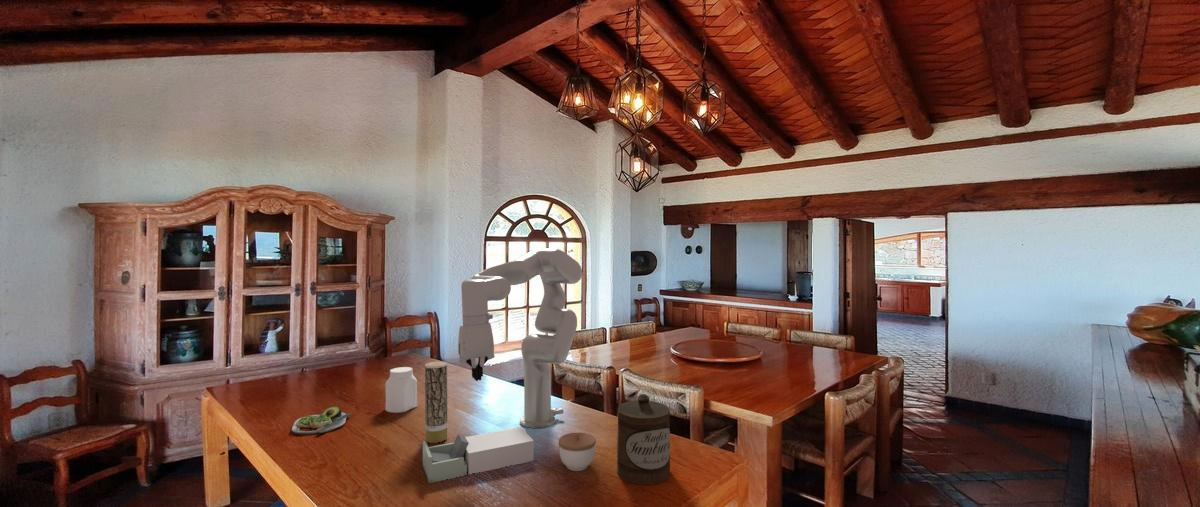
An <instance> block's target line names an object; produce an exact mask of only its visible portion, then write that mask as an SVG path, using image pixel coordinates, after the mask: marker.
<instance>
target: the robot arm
mask: <svg viewBox="0 0 1200 507" xmlns="http://www.w3.org/2000/svg"><path fill="white" fill-rule="evenodd" d="M538 275H539V277H540V280H541V282H542V287H543V297H542V300H541V304H540V306H539V308H538V311H537V315H536V317H535V322H534V328H535V329H536V330H537V331H538V332H540V333H543V334H539V333H532V334H528V335H527V336H526V337H524V338H523V339H522V342H521V357H522V359H523V360H522V361H523V367H524V368H523V369H524V370H523V371H524V372H523V374H524V376H523V377H524V379H523V381H524V383H523V385H524V388H523V389H524V390H523V393H524V395H523V396H524V399H523V400H524V403H523V404H524V405H523V406H524V407H523V408H524V413H523V414H524V415H523V416H521V417H520V418H519V424H520V425H521V426H523V427H526V428H530V429H538V428H539V429H541V428H545V427H546V428H547V427H550V426H551V425H553V424H554V423H555V422H556V415H563V414H564V408H563V407H562V408H558V407H552V404H551V403H552V397H551V396H552V373H551V368H550V366H549V364H552V365H553V364H554V365H561V364H563V363H564V362H565V361H566V360H567V358H568V356H569V353H570V350H571V348H572V344H573V340H574V337H575V335H576V331H577V327H578V317H577V314H576V313H575V311H573V310H571V309H570V308H569V309H568V308H565V304H566V300H567V296H566V293H565V291H564V288H563V287H562V285H561V284H565V285H575V284H577V283H578V282H580V281H581V279H582V276H583V270H582V266H581V265H580V263H579V262H578V261H577V260H576V259H574V258H573V257H572V256H571V255H569V254H568V253H566V252H565V251H563V250H562V249H559V248H543V247H542V248H541V247H540V248H534V249H533V250H530V251H528V252H527V253H525V254H523V255H522V256H520V257H518V258H516V259H514V260H511V261H508V262H504V263H501V264H498V265H495V266H491V267H489V268H486V269H484V270H481V271H479V272H478V273H475V275H473V276H472V277H471V278H470V279H469V278H468V279H465V280H463V281H462V282H461V287H460V288H461V289H460V290H461V309H462V310H461V312H462V313H461V314H462V315H461V316H462V317H461V318H462V324H460V325H459V330H458V338H457V340H458V344H457V345H458V346H457V352H458V355H459V356H458V362H459V363H460V364H468V365H469V366H470V367H471V377H472V379H474V381H476V382H478V381H482V377H484V370H483V368H484V366H485V364H486V363H487V362H488V361H489V360H492V359H494V358H495V357H496V356H495V344H494V343H495V342H494V335H493V329H492V328H493V327H492V325H491V322H490V320H492V319H493V318H494V317H493V315H494V314H490V313H489V308H488V306H489V304H488V302H491V301H496V302H497V301H502V300H504V299H506V298H508V297H509V295H510V293H511V289H512V286H518V285H521V284H526V283H528V282H529V281H530V280H532V279H533V278H535V277H537V276H538ZM544 333H545V334H544ZM549 334H551V335H549ZM477 358H478V359H477ZM476 359H477V364H476Z"/></svg>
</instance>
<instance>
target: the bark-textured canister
mask: <svg viewBox="0 0 1200 507" xmlns="http://www.w3.org/2000/svg"><path fill="white" fill-rule="evenodd" d="M424 365H425V366H424V380H425V382H424V390H425V393H424V394H425V395H424V396H425V397H424V400H425V403H424V404H425V406H424V407H425V408H424V409H425V411H424V413H425V415H424V416H425V418H424V419H425V420H424V422H425V424H424V425H425V441H426V443H428V442H429V444H439V443H438V442H440V443H443V442H445V441H446V440H447V439H448V362H446V361H430V362H428V363H425V364H424ZM444 440H445V441H444ZM442 441H443V442H442Z"/></svg>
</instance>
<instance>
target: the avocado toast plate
mask: <svg viewBox="0 0 1200 507" xmlns="http://www.w3.org/2000/svg"><path fill="white" fill-rule="evenodd" d="M350 415H352V412H347V413H345V412H342V409H341V408H340V407H339V406H331V407H328V408H326V409H324V410H323V411H322V412H321V413H320V414H312V415H309V414H308V415H306V416H302V417H300V418H298V419H296V420H295V421H294V423H293V425H292V427H291V432H293V433H295V434H298V435H303V436H304V435H305V436H306V435H313V434H322V433H324V434H325V433H326V432H327V433H328V432H330V431H333V430H335V429H338V428H340V427H342V426H343V425H344V424H345V423H346V421H347V419H348V417H350ZM301 428H302V429H303V428H305V429H306V428H307V429H310V428H311V430H304V431H303V430H301Z"/></svg>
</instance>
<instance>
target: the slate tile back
mask: <svg viewBox="0 0 1200 507" xmlns="http://www.w3.org/2000/svg"><path fill="white" fill-rule="evenodd" d="M465 437H466V436H465V435H463V434H459V433H458V434H457V435H456V437H455V440H454V441H453V443H454V444H453V446H452V448H451V451H450V453H449V455H450V457H451V459H455V458H460V457H463V455H464V453H465V451H466V448H467V446H468V444H469V443H468V441H467V439H466V438H465Z"/></svg>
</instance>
